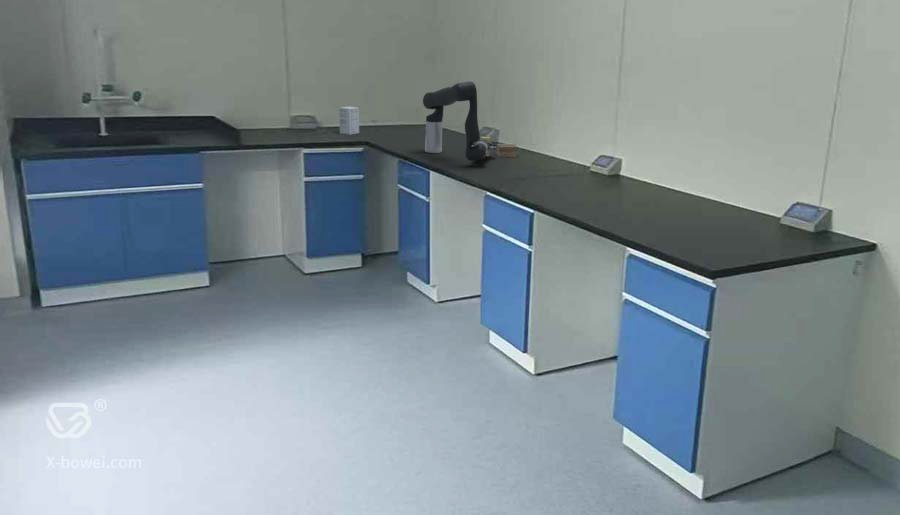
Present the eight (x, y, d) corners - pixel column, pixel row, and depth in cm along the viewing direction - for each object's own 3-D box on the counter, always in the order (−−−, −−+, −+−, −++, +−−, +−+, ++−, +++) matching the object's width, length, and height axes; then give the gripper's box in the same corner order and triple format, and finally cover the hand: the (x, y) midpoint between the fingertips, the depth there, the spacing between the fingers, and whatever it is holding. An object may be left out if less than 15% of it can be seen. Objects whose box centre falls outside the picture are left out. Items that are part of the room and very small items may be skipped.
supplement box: (349, 132, 490) (348, 106, 485) (359, 133, 485) (359, 107, 480) (339, 133, 483) (338, 107, 478) (349, 134, 478) (349, 108, 473)
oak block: (488, 156, 407) (489, 138, 404) (480, 155, 408) (481, 137, 405) (489, 155, 411) (490, 137, 408) (481, 154, 412) (482, 136, 409)
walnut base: (516, 157, 411) (517, 146, 409) (498, 157, 410) (499, 146, 408) (514, 154, 420) (514, 144, 418) (496, 154, 419) (497, 143, 418)
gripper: (494, 142, 392) (499, 137, 408) (468, 140, 394) (474, 136, 410) (494, 156, 394) (498, 151, 410) (467, 154, 397) (473, 149, 413)
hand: (486, 143), depth 410 cm, fingers closed on oak block, 4 cm apart
